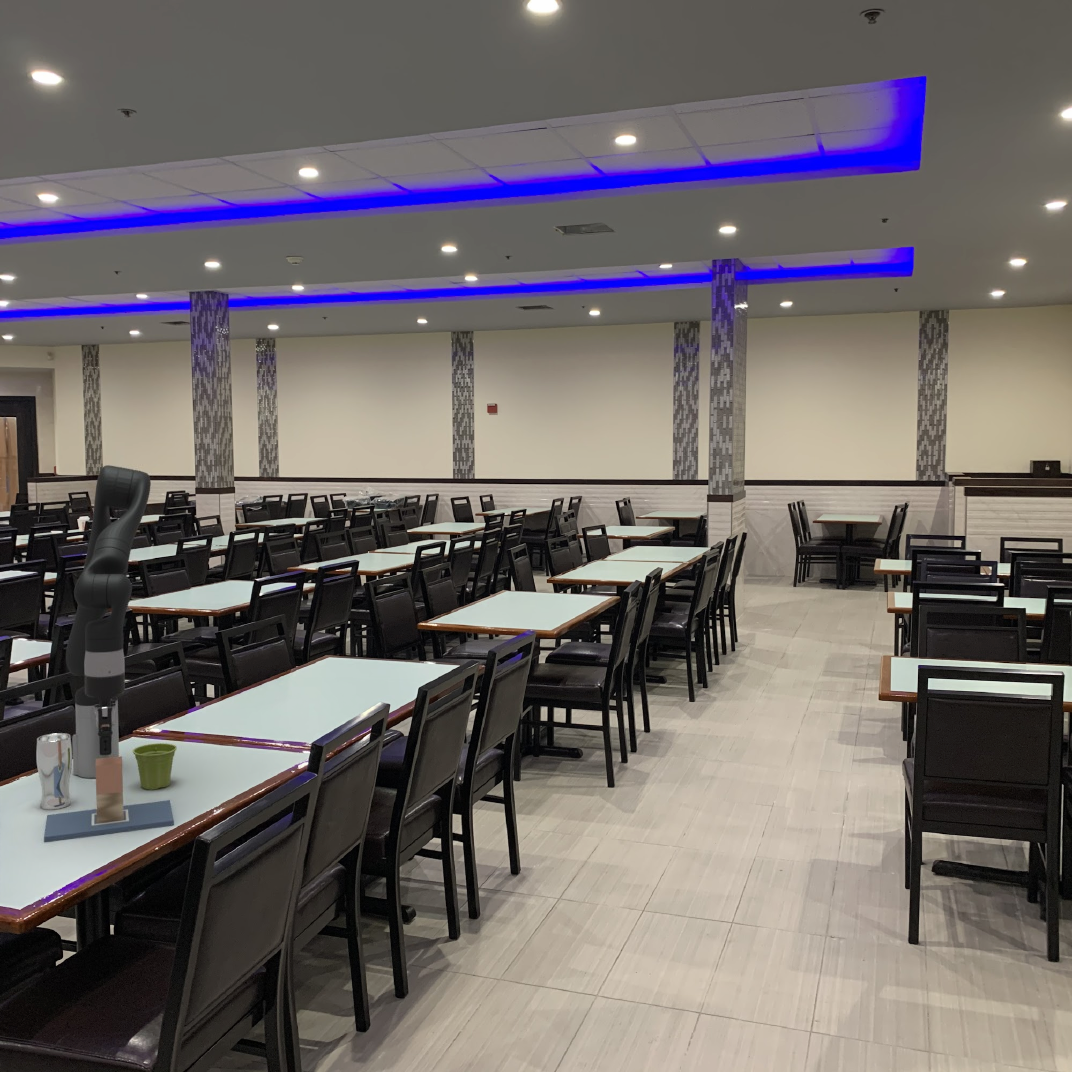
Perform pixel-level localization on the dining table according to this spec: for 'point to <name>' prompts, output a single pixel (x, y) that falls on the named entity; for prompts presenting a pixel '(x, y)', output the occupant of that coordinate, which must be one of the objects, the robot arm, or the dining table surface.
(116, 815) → the maple block
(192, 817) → the dining table surface
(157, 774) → the plant pot
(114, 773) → the terracotta block
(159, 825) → the board
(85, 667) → the robot arm
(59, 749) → the beer glass
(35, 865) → the dining table surface
